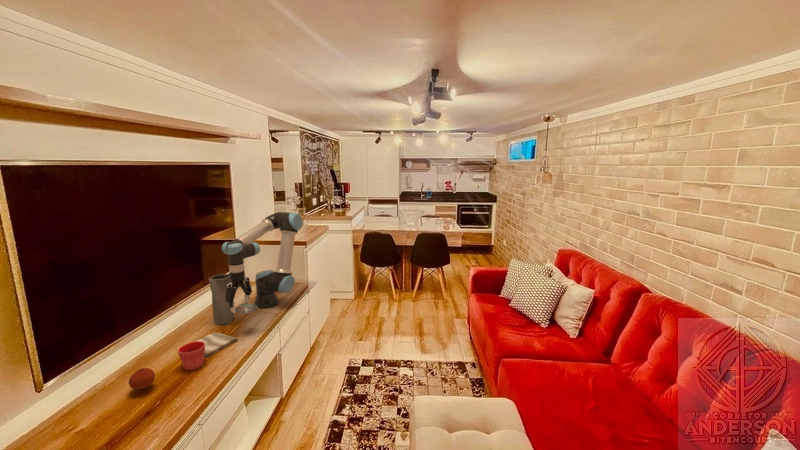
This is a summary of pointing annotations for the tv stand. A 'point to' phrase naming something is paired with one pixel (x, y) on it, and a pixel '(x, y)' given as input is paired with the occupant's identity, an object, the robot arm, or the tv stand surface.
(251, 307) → the packaged food
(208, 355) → the stand
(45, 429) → the tv stand surface
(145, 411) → the tv stand surface
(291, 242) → the robot arm
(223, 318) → the vase
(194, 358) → the flower pot
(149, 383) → the fruit
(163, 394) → the tv stand surface
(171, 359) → the tv stand surface
